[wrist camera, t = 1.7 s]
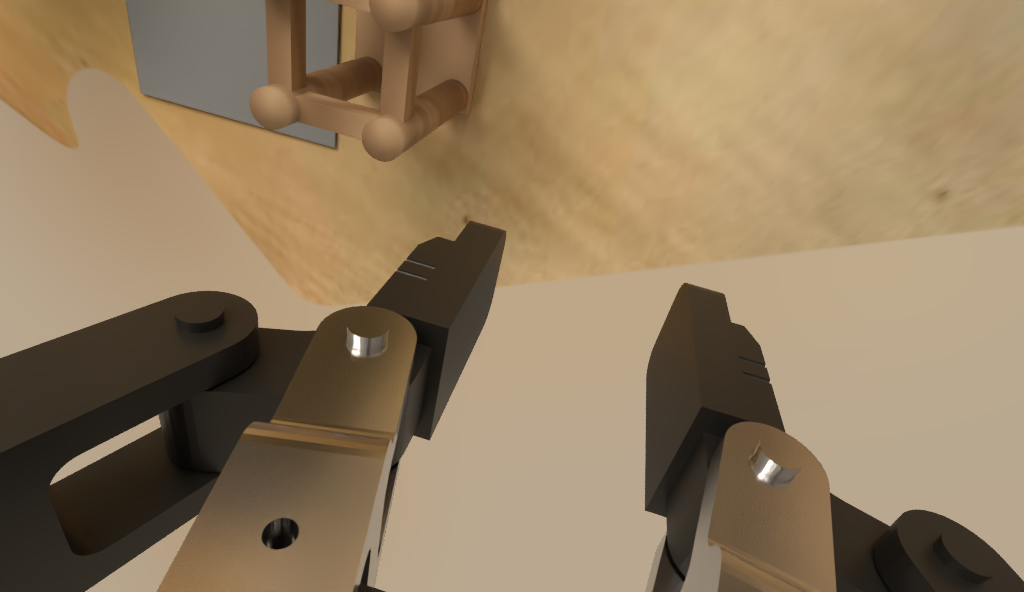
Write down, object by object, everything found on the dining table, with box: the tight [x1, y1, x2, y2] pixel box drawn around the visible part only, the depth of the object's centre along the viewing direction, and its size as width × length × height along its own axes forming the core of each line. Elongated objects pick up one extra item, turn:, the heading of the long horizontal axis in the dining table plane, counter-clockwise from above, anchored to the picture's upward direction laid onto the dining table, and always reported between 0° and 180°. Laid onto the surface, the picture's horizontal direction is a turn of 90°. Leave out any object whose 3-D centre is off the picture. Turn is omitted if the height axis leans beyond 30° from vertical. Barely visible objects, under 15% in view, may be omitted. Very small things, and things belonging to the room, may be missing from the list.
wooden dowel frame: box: [249, 0, 488, 162], centre depth 27 cm, size 7×7×11 cm
